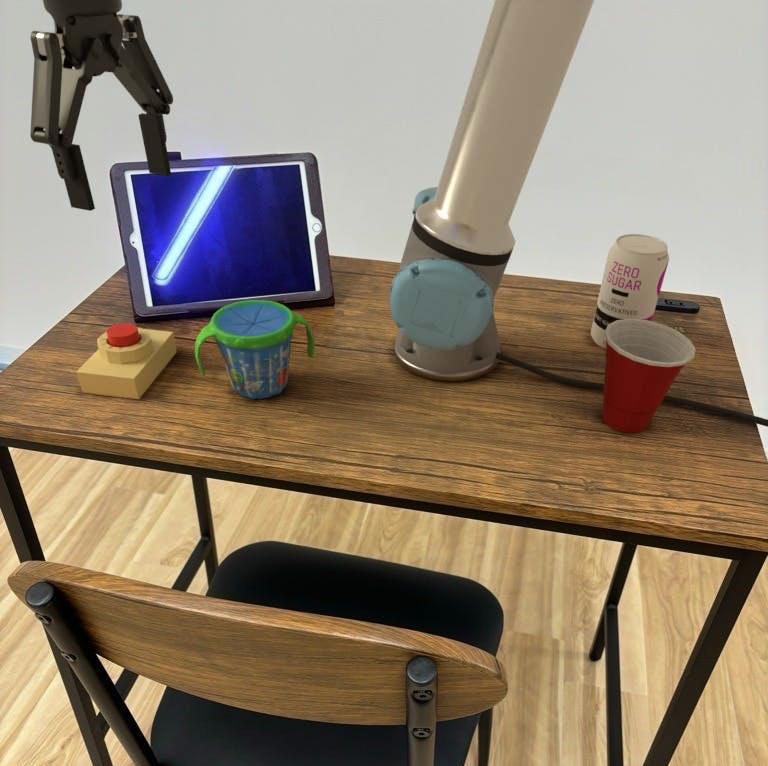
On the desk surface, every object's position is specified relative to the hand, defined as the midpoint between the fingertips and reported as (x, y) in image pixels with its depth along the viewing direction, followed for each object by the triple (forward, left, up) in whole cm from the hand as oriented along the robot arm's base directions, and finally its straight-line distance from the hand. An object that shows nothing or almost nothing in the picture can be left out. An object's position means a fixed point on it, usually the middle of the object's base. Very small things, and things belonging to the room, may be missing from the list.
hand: (123, 190), depth 86 cm
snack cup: (-14, +1, -25) cm, 29 cm away
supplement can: (-63, -23, -25) cm, 72 cm away
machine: (+4, +1, -24) cm, 25 cm away
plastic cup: (-63, -1, -25) cm, 68 cm away
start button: (+4, +1, -20) cm, 20 cm away
